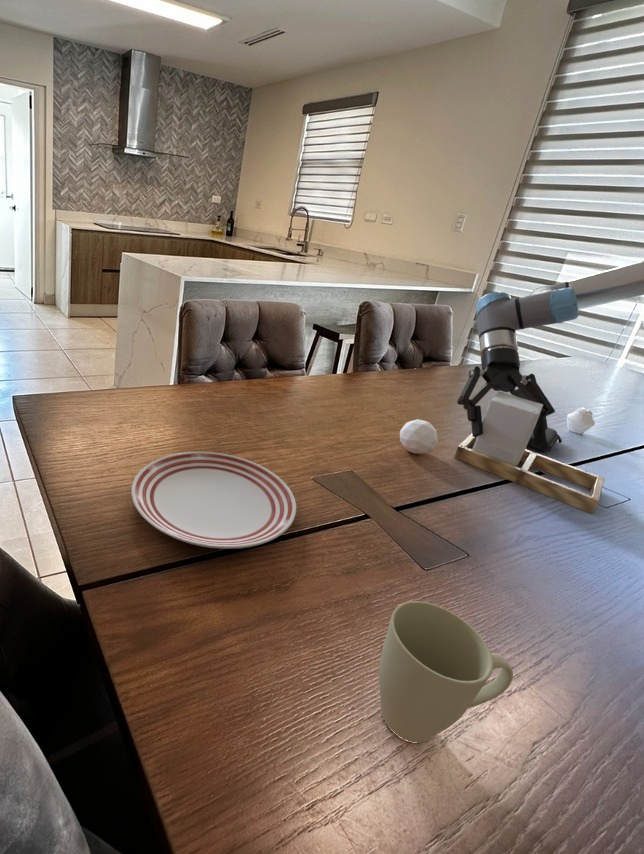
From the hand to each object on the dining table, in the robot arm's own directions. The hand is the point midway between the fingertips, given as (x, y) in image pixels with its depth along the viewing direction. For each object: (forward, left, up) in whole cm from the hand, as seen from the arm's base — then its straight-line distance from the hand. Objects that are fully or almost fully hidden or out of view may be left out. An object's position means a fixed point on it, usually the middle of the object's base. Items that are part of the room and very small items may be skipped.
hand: (509, 439), depth 103 cm
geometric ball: (+15, +10, -7) cm, 20 cm away
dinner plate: (+30, +63, -7) cm, 71 cm away
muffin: (-10, -44, -7) cm, 45 cm away
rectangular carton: (+1, -2, -7) cm, 7 cm away
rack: (-5, -2, -7) cm, 8 cm away
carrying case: (-3, -24, -7) cm, 25 cm away
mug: (-8, +73, -7) cm, 74 cm away
